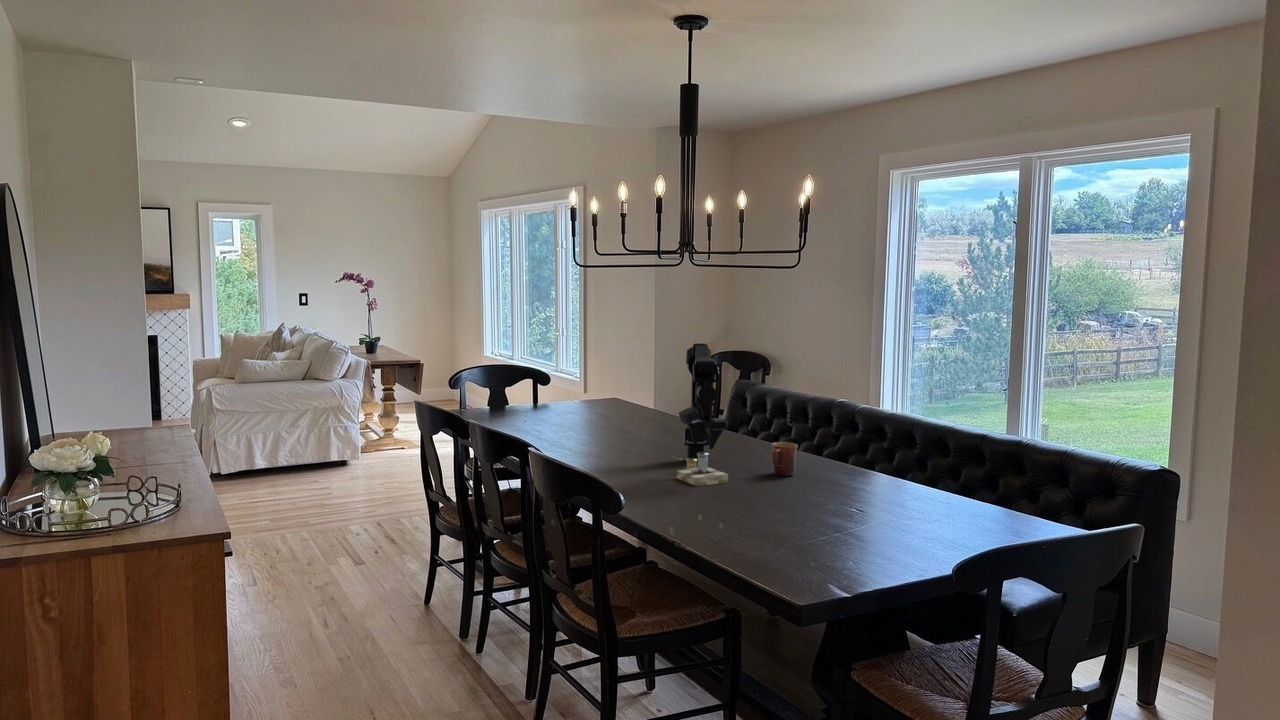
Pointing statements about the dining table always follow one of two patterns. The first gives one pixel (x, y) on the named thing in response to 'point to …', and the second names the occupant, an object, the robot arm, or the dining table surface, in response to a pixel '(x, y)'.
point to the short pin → (691, 463)
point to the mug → (784, 458)
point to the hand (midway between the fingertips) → (703, 446)
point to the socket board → (702, 477)
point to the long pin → (702, 462)
